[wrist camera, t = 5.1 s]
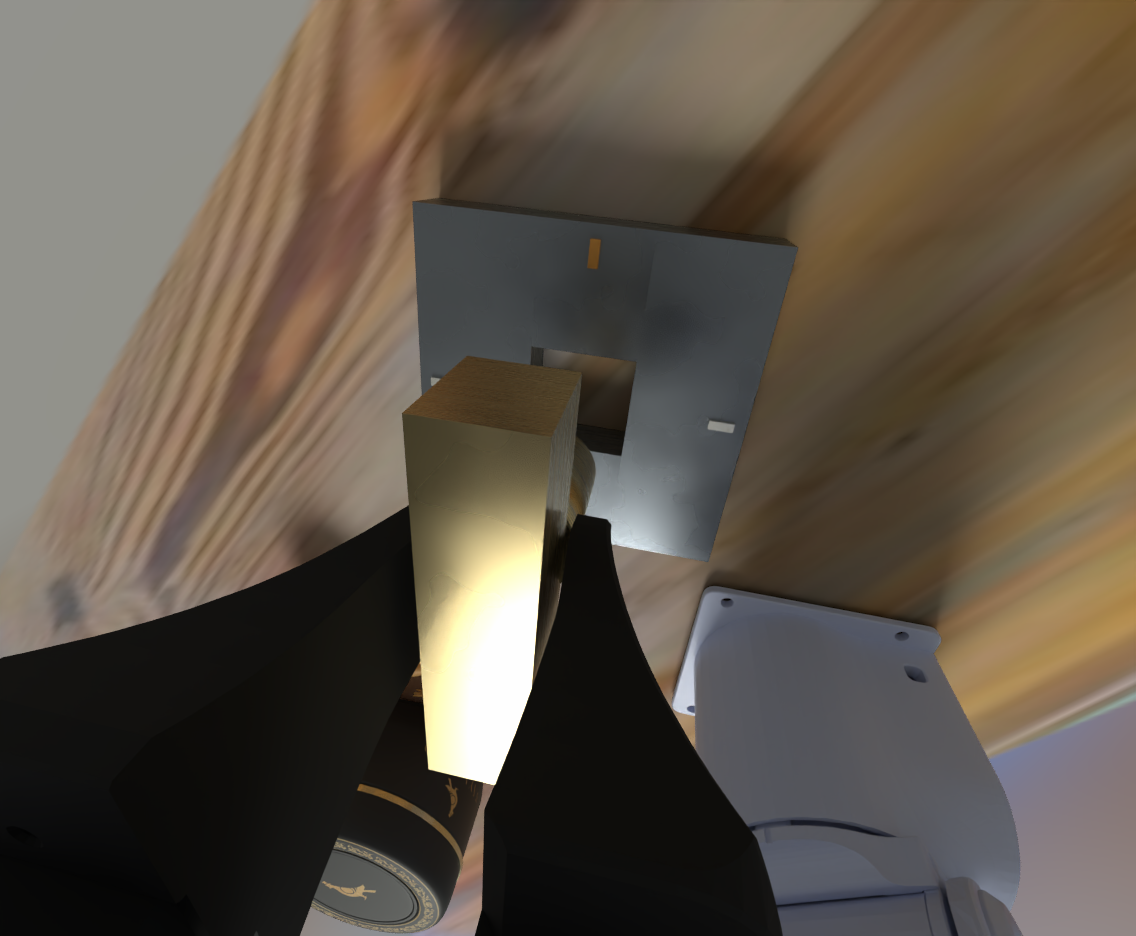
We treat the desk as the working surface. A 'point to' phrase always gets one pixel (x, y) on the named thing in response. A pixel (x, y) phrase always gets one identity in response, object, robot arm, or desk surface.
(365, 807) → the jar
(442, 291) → the key plate
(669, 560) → the desk surface
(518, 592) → the t key
